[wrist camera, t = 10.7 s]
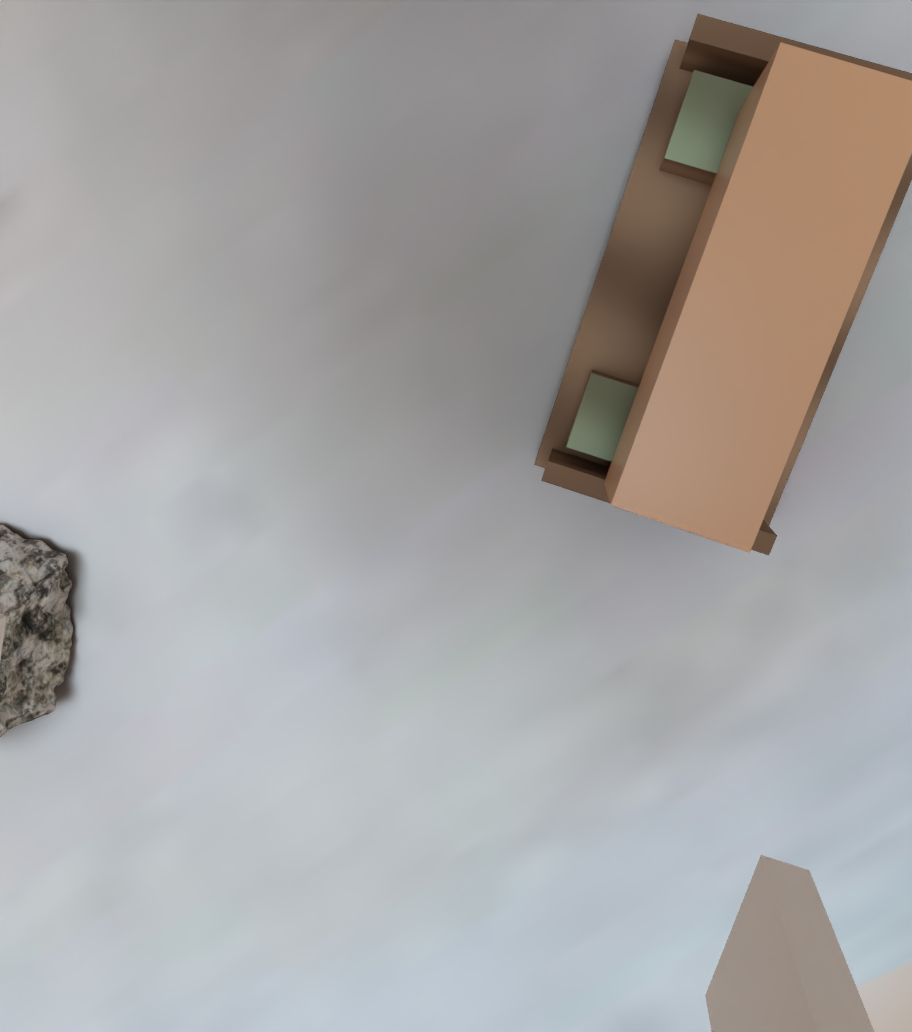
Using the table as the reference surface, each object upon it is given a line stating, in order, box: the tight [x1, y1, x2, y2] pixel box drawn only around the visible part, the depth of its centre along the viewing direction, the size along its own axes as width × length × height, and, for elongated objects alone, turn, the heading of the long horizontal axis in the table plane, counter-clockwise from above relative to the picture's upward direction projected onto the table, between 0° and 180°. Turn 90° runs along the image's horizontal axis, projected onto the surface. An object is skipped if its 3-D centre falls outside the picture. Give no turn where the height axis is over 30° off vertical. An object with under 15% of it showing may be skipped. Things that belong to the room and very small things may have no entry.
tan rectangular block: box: [604, 42, 912, 553], centre depth 28 cm, size 14×4×6 cm, turn 163°
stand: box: [534, 14, 912, 555], centre depth 33 cm, size 17×10×6 cm, turn 163°
